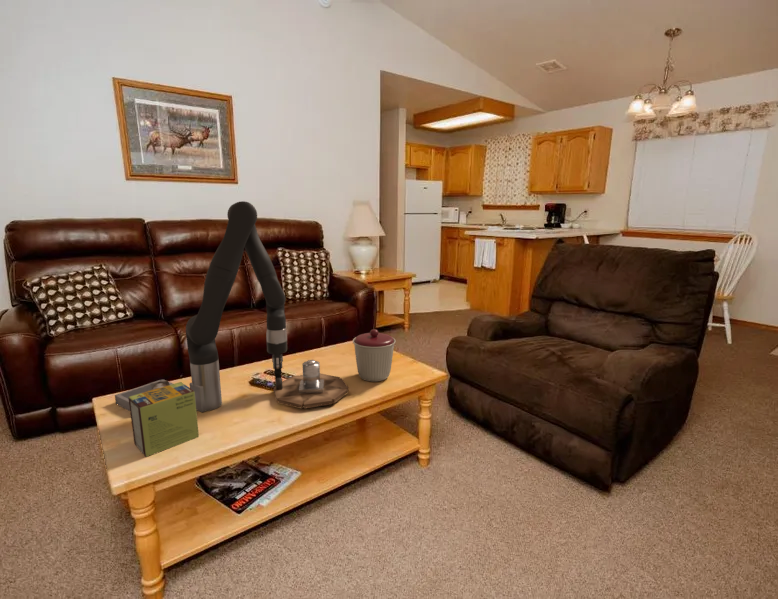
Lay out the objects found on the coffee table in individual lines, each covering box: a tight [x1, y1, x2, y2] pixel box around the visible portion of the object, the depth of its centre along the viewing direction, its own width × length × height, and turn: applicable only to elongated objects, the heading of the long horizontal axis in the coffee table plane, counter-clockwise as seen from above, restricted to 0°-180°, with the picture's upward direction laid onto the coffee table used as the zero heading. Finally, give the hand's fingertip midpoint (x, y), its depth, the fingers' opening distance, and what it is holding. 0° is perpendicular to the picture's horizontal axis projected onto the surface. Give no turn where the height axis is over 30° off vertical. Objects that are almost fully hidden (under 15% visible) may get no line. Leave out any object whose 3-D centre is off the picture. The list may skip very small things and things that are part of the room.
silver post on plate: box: [299, 359, 324, 394], centre depth 158 cm, size 9×9×11 cm
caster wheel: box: [147, 379, 170, 392], centre depth 150 cm, size 7×11×10 cm
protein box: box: [128, 381, 200, 458], centre depth 126 cm, size 10×15×16 cm
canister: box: [352, 328, 397, 382], centre depth 175 cm, size 18×18×21 cm
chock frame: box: [114, 379, 174, 412], centre depth 153 cm, size 17×15×4 cm
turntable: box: [273, 372, 349, 409], centre depth 160 cm, size 27×27×5 cm
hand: (278, 381), depth 161 cm, fingers closed
